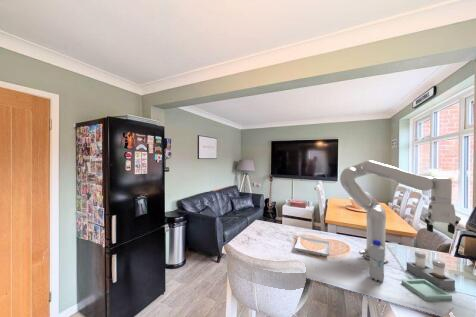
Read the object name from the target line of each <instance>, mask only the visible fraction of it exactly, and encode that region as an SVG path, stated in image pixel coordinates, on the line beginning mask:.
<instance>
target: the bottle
mask: <svg viewBox="0 0 476 317" xmlns="http://www.w3.org/2000/svg"><path fill="white" fill-rule="evenodd" d="M369 254H370V260H369V267H368V275H369V277H370V279H371V280H374V281H375V282H377V281H378V282H380V283H381V282H383V281H384V280H385V267H384V264H385V263H384V258H385V256H386V251H385V252H384V248H383V247H382V246H381V242H380V241H379V240H373V244H371V245H370V248H369Z"/></svg>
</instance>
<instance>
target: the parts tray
mask: <svg viewBox="0 0 476 317" xmlns="http://www.w3.org/2000/svg"><path fill="white" fill-rule="evenodd" d="M401 284H402V285H404V286H405V287H406V288H408V289H409V290H410V289H411V291H412V292H413V291H414V293H415V294H416V295H418V296H419V297H420V298H422V299H423V300H424V301H427V302H434V301H435V302H437V301H453V295H452V294H450V293H448V292H446V291H445V290H444V289H440V288H438V287H437V286H435V285H433V284H432V283H430V282H428V281H427V280H425V279H421V278H419V279H418V278H414V279H413V278H412V279H410V278H409V279H401Z"/></svg>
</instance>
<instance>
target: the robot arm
mask: <svg viewBox="0 0 476 317" xmlns="http://www.w3.org/2000/svg"><path fill="white" fill-rule="evenodd" d="M367 175H371V176H374V177H378V178H381V179H384V180H387V181H390V182H393V183H397V184H401V185H403V186H405V187H406V186H407V187H409V188H413V189H416V190H418V191H429V190H430V191H431V192H430V194H431V196H430V197H429V198H428V200H429V203H428V208H427V212H426V213H424V214H423V213H422V214H421V218H422V220H423V221H424V222H425V224H426V231H428V232H430V233H434V223H442V224H443V223H445V224H447V232H448V233H450V234H452V235H455V232H456V230H455V229H456V227H457V225H458V224H459V223H460V221H461V219H462V218H461V217H460V216H457V215H456V209H455V205H454V203H452V197H453V196H452V189H453V181H452V179H451V178H450V177H443V176H425V175H420V174H416V173H412V172H409V171H406V170H404V169H400V168H398V167H396V166H392V165H389V164H384V163H382V162H378V161H374V160H373V159H372V160H370V159H367V160H365V161H363V162H360V163H357V164H354V165H352V166H349V167H346V168H344V169H343V170H342V171H341V173H340V176H339V181H340V184H341V186H342V188H343V189H344V191H345V192H346V193H347V195H349V196H350V198H351V199H352V200H353V202H354V203H355V204H356V205H357V206H359V207H360V208H363V209H364V210H365V211H366V248H364V250H359V251H358V253H359V255H363V257H364V258H365V259H367V260H369V261H370V254H369V248H370V245H371V244H373V240H379V241H380V242H381V246H382V247H383V248H384V252H385V253H386V222H387V221H386V220H387V215H386V214H387V213H386V210H385V209H384V207H383V206H382V204H380V203H379V202H378V201H377V199H376V198H375V197H374V196H373V195H372V194H371V193H370V192H368V191H365V190H363V188H362V187H361V186H360V184H359V183H357V182H356V179H358V178H360V177H363V176H367ZM386 263H389V258H388V257H387V256H386V255H385V258H384V264H386Z"/></svg>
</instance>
